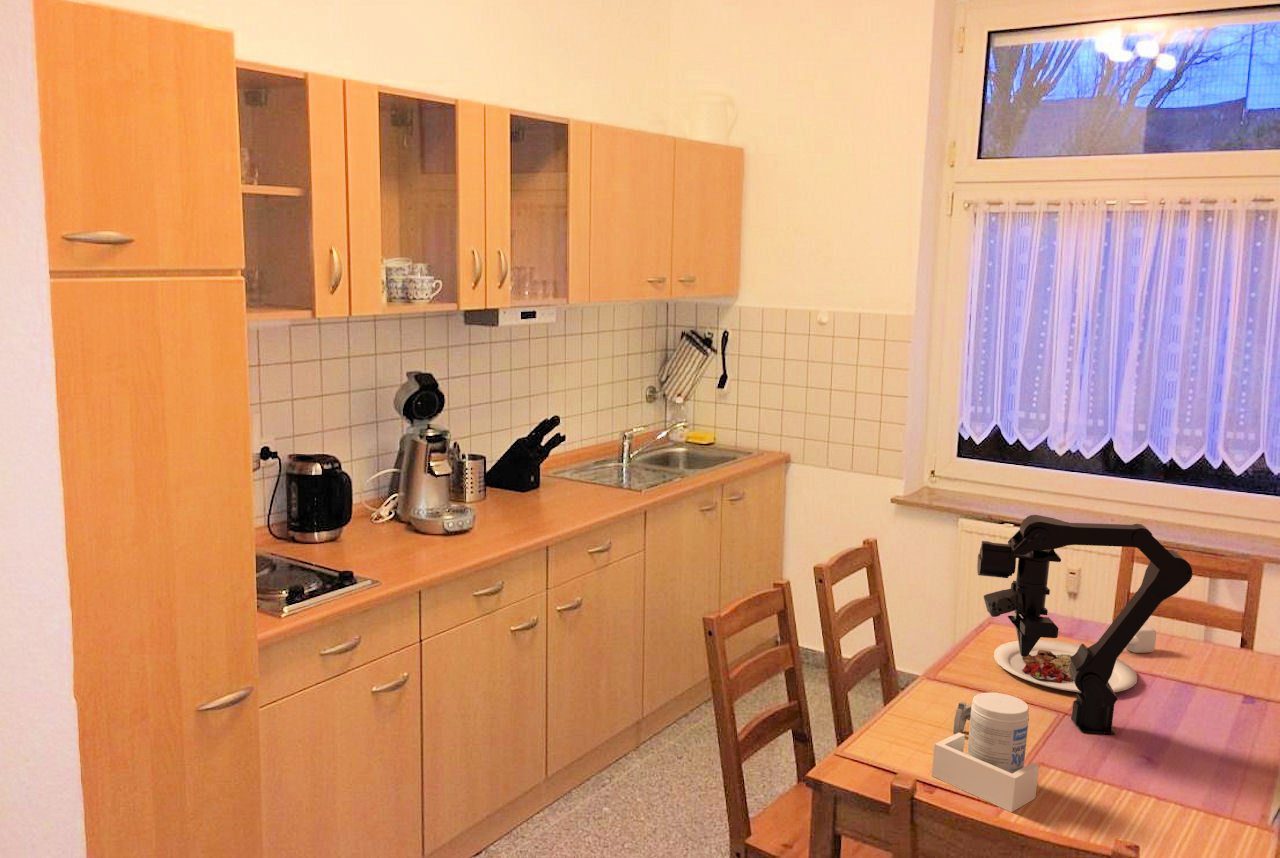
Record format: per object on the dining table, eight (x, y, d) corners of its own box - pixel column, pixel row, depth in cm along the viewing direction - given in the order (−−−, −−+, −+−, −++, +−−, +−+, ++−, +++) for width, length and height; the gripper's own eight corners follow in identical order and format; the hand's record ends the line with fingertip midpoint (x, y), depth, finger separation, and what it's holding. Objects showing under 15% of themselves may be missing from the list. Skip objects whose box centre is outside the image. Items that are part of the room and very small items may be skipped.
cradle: (956, 763, 192) (959, 732, 191) (1035, 798, 181) (1038, 765, 180) (931, 775, 187) (934, 743, 186) (1011, 812, 176) (1015, 778, 175)
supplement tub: (1021, 800, 180) (1030, 718, 178) (963, 789, 183) (971, 708, 181) (1021, 774, 189) (1029, 696, 187) (965, 764, 192) (973, 687, 190)
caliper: (958, 737, 203) (961, 706, 202) (952, 736, 204) (955, 704, 203) (997, 705, 219) (1001, 675, 218) (992, 703, 220) (995, 674, 219)
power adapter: (1115, 656, 249) (1118, 632, 248) (1102, 648, 254) (1104, 625, 253) (1156, 654, 252) (1159, 630, 251) (1142, 646, 256) (1145, 623, 255)
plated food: (1145, 667, 243) (1147, 653, 243) (1124, 712, 218) (1126, 696, 218) (1011, 638, 259) (1012, 624, 259) (977, 676, 234) (979, 661, 234)
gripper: (978, 564, 218) (971, 636, 220) (1002, 592, 199) (994, 671, 202) (1033, 567, 217) (1026, 640, 220) (1063, 596, 199) (1054, 675, 201)
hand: (1023, 656), depth 211 cm, fingers closed
